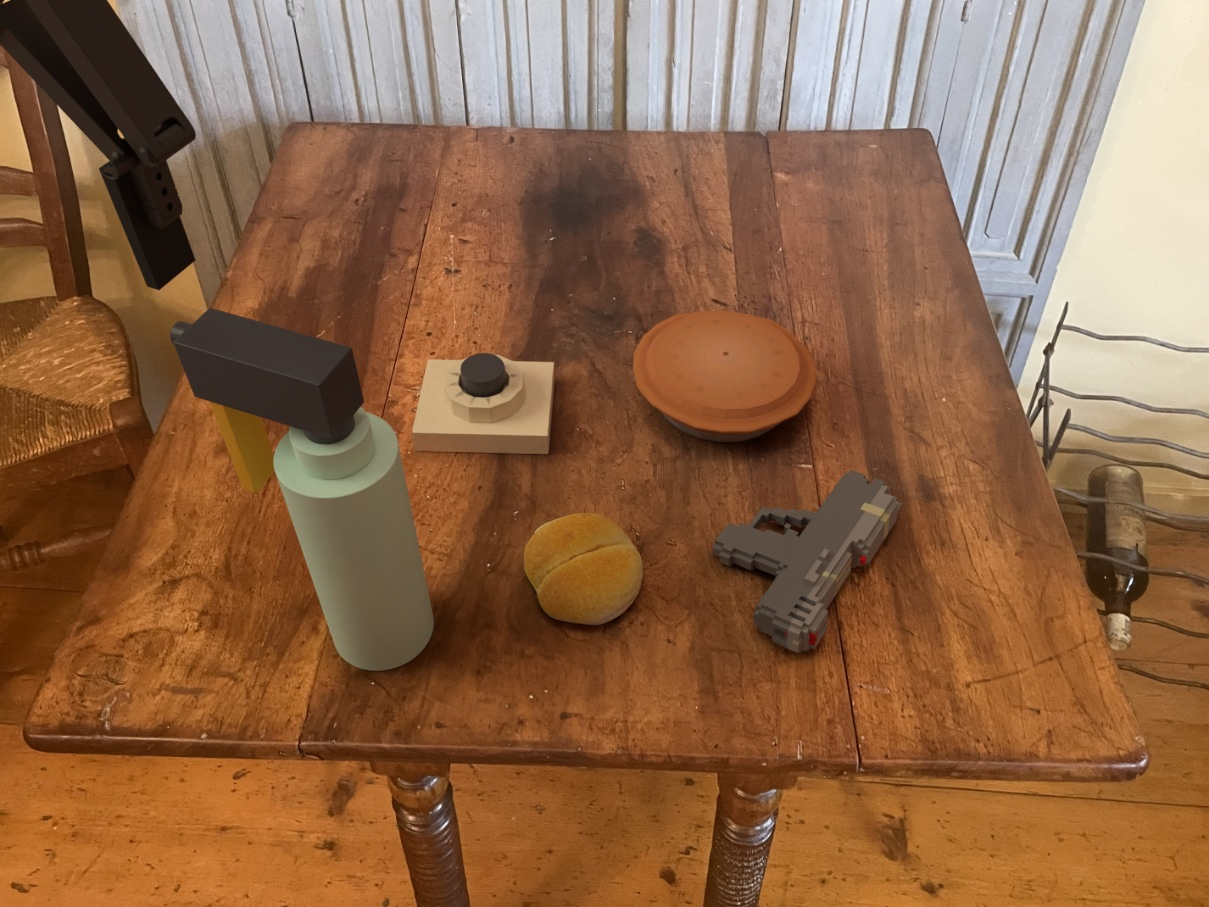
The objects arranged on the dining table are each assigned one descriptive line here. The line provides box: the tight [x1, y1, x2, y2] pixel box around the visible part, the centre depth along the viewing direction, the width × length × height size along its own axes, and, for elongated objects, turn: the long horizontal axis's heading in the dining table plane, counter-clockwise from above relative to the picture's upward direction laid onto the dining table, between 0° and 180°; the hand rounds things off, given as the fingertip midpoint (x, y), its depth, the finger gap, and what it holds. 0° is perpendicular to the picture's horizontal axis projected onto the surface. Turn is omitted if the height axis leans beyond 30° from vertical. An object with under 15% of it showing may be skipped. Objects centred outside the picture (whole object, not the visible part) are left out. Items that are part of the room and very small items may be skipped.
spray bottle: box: [169, 307, 435, 672], centre depth 61 cm, size 12×7×25 cm, turn 69°
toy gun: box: [712, 469, 903, 654], centre depth 73 cm, size 4×16×10 cm
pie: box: [632, 309, 817, 443], centre depth 84 cm, size 16×16×5 cm
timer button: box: [460, 352, 506, 398], centre depth 81 cm, size 4×4×2 cm
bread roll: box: [523, 512, 644, 626], centre depth 71 cm, size 8×9×4 cm
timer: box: [411, 354, 556, 455], centre depth 83 cm, size 11×9×4 cm
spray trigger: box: [208, 401, 275, 494], centre depth 59 cm, size 1×2×8 cm, turn 159°
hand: (67, 241), depth 51 cm, fingers open, 13 cm apart
